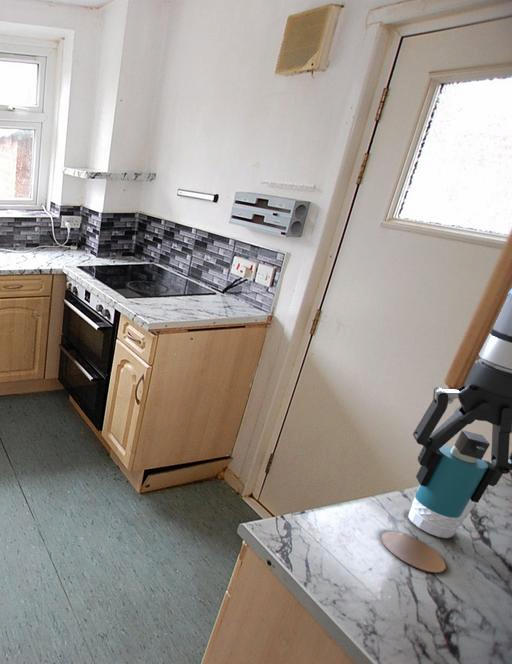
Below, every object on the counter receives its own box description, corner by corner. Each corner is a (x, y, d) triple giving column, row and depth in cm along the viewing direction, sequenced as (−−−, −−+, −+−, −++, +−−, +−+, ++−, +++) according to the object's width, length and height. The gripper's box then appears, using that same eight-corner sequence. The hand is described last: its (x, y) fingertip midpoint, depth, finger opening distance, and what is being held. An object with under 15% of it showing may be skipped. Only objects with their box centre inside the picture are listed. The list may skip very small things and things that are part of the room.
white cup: (406, 504, 95) (426, 465, 92) (457, 527, 90) (480, 486, 87) (402, 523, 90) (422, 481, 86) (455, 548, 85) (480, 505, 81)
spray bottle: (411, 488, 83) (444, 420, 78) (454, 501, 80) (491, 433, 75) (421, 511, 77) (458, 440, 72) (468, 526, 74) (510, 453, 69)
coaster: (436, 546, 85) (436, 545, 85) (452, 581, 77) (453, 581, 77) (377, 525, 89) (377, 524, 89) (387, 557, 81) (387, 556, 81)
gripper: (438, 358, 70) (381, 479, 79) (617, 396, 62) (533, 527, 70) (424, 343, 77) (373, 457, 85) (585, 376, 69) (511, 499, 77)
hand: (445, 489), depth 78 cm, fingers closed on spray bottle, 6 cm apart
